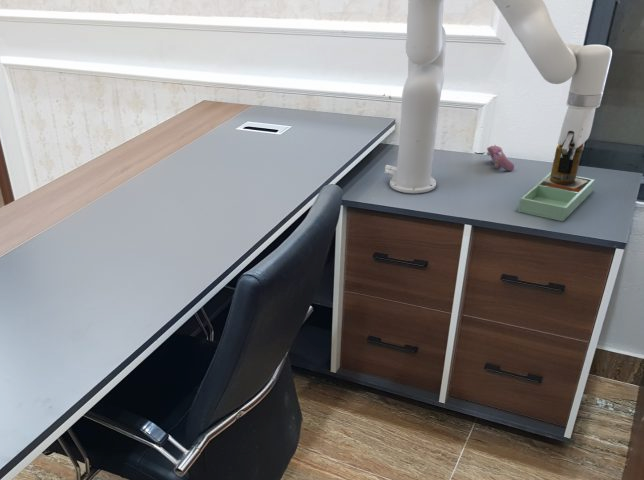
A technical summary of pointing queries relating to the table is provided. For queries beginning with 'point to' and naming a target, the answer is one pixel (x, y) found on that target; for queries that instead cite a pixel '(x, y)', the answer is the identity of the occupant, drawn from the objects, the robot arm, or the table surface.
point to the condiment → (563, 178)
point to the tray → (554, 199)
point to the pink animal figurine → (499, 158)
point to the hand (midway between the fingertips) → (568, 168)
